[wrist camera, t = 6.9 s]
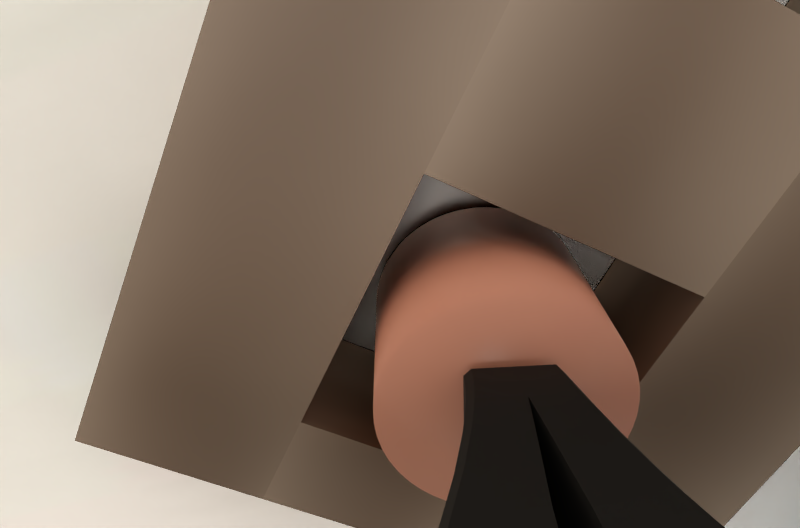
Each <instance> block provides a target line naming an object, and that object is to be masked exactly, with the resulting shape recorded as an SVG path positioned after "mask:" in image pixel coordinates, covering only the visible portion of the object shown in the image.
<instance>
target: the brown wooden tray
mask: <svg viewBox="0 0 800 528" xmlns="http://www.w3.org/2000/svg"><path fill="white" fill-rule="evenodd" d="M424 174H426V175H428V176H430V177H433V178H435V179H437V180H439V181H442V182H444V183H446V184H449V185H451V186H453V187H455V188H458V189H460V190H462V191H464V192H467V193H469V194H471V195H474V196H476V197H478V198H480V199H483V200H485V201H487V202H489V203H492V204H494V205H496V206H499V207H501V208H503V209H505V210H508V211H510V212H512V213H514V214H517V215H519V216H521V217H524V218H526V219H528V220H530V221H533V222H535V223H537V224H539V225H542V226H544V227H546V228H549V229H551V230H553V231H555V232H558V233H560V234H562V235H564V236H567V237H569V238H571V239H574V240H576V241H578V242H580V243H583V244H585V245H587V246H589V247H592V248H594V249H596V250H599V251H601V252H603V253H605V254H608V255H610V256H612V257H614V258H616V259H615V261H614V262H613V264H612V265H611V267H610V268H609V270H608V271H607V273H606V274H605V276H604V277H603V279H602V280H601V282H600V283H599V285H598V286H597V288H596V289H595V291H594V293H595V295H596V297H597V298H598V300H599V302H600V303H601V305H602V307H603V308H604V310H605V312H606V313H607V315H608V317H609V318H610V320H611V322H612V323H613V325H614V327H615V328H616V330H617V332H618V333H619V335H620V337H621V338H622V340H623V342H624V343H625V345H626V347H627V348H628V350H629V352H630V354H631V356H632V358H633V360H634V363H635V366H636V369H637V372H638V377H639V383H640V402H639V408H638V414H637V417H636V420H635V423H634V426H633V428H632V430H631V432H630V434H629V436H628V438H627V439H628V440H629V441H630V442H631V443H633V444H634V445H635V446H636V447H637V448H638V449H639V450H640V451H641V452H642V453H643V454H644V455H645V456H646V457H647V458H648V459H649V460H650V461H651V462H652V463H653V464H654V465H655V466H656V467H657V468H658V469H659V470H660V471H662V472H663V473H664V474H665V475H666V476H667V477H668V478H669V479H670V480H671V481H672V482H673V483H675V484H676V485H677V486H678V487H679V488H680V489H681V490H682V491H683V492H684V493H685V494H687V495H688V496H689V497H690V498H691V499H692V500H694V501H695V502H696V503H697V504H698V505H699V506H700V507H702V508H703V509H704V510H705V511H706V512H707V513H708V514H710V515H711V516H712V517H713V518H714V519H715V520H716V521H718V522H719V523H720V524H721V525H722V526H724V525H725V524H726V523H727V522H728V521H729V520H730V519H731V518H732V517H733V516H734V515H735V514H736V513H737V512H738V511H739V510H740V509H741V507H742V506H743V505H744V504H745V503H746V502H747V501H748V500H749V499H750V498H751V497H752V496H753V495H754V494H755V493H756V492H757V490H758V489H759V488H760V487H761V486H762V485H763V484H764V483H765V482H766V481H767V480H768V479H769V478H770V477H771V476H772V475H773V474H774V472H775V471H776V470H777V469H778V468H779V467H780V466H781V465H782V464H783V463H784V462H785V461H786V460H787V459H788V458H789V457H790V455H791V454H792V453H793V452H794V451H795V450H796V449H797V448H798V447H799V446H800V0H790V1H789V2H788V4H787V5H786V6H784V5H782V4H780V3H779V2H777V1H775V0H210V2H209V5H208V9H207V12H206V15H205V18H204V22H203V25H202V28H201V31H200V35H199V38H198V41H197V44H196V48H195V51H194V54H193V57H192V61H191V64H190V67H189V70H188V74H187V77H186V80H185V83H184V87H183V90H182V93H181V96H180V100H179V103H178V106H177V110H176V113H175V116H174V119H173V123H172V126H171V129H170V132H169V136H168V139H167V142H166V145H165V149H164V152H163V155H162V158H161V162H160V165H159V168H158V171H157V175H156V178H155V181H154V184H153V188H152V191H151V194H150V197H149V201H148V204H147V207H146V210H145V214H144V217H143V220H142V224H141V227H140V230H139V233H138V237H137V240H136V243H135V246H134V250H133V253H132V256H131V259H130V263H129V266H128V269H127V272H126V276H125V279H124V282H123V285H122V289H121V292H120V295H119V298H118V302H117V305H116V308H115V311H114V315H113V318H112V321H111V324H110V328H109V331H108V334H107V337H106V341H105V344H104V347H103V351H102V354H101V357H100V360H99V364H98V367H97V370H96V373H95V377H94V380H93V383H92V386H91V390H90V393H89V396H88V399H87V403H86V406H85V409H84V412H83V416H82V419H81V422H80V425H79V429H78V432H77V435H76V438H75V441H78V442H81V443H84V444H87V445H91V446H94V447H97V448H100V449H104V450H107V451H110V452H113V453H116V454H120V455H123V456H126V457H129V458H133V459H136V460H139V461H142V462H145V463H149V464H152V465H155V466H158V467H162V468H165V469H168V470H171V471H175V472H178V473H181V474H184V475H187V476H191V477H194V478H197V479H200V480H204V481H207V482H210V483H213V484H216V485H220V486H223V487H226V488H229V489H233V490H236V491H239V492H242V493H245V494H249V495H252V496H255V497H258V498H262V499H265V500H268V501H271V502H274V503H278V504H281V505H284V506H287V507H291V508H294V509H297V510H300V511H304V512H307V513H310V514H313V515H316V516H320V517H323V518H326V519H329V520H333V521H336V522H339V523H342V524H345V525H349V526H352V527H355V528H439V524H440V521H441V517H442V514H443V511H444V507H445V504H446V501H445V500H443V499H440V498H438V497H435V496H433V495H431V494H429V493H427V492H425V491H423V490H421V489H419V488H418V487H417V486H415V485H414V484H412V483H411V482H409V481H408V480H407V479H406V478H405V477H404V476H403V475H401V474H400V473H399V472H398V471H397V470H396V468H395V467H394V466H393V465H392V464H391V462H390V461H389V460H388V458H387V457H386V455H385V453H384V452H383V450H382V448H381V445H380V443H379V441H378V438H377V435H376V431H375V426H374V419H373V392H374V359H375V352H373V351H371V350H368V349H365V348H362V347H360V346H357V345H354V344H352V343H349V342H346V341H344V340H342V338H343V336H344V334H345V332H346V330H347V328H348V326H349V324H350V322H351V320H352V318H353V316H354V314H355V312H356V310H357V308H358V306H359V304H360V302H361V300H362V298H363V296H364V294H365V292H366V290H367V288H368V286H369V284H370V282H371V280H372V278H373V276H374V274H375V272H376V270H377V268H378V265H379V263H380V261H381V259H382V257H383V255H384V253H385V251H386V249H387V247H388V245H389V243H390V241H391V239H392V237H393V235H394V233H395V231H396V229H397V227H398V225H399V223H400V221H401V219H402V217H403V215H404V213H405V211H406V209H407V207H408V205H409V203H410V201H411V199H412V197H413V195H414V193H415V191H416V189H417V187H418V185H419V183H420V181H421V179H422V177H423V175H424Z"/></svg>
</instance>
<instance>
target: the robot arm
mask: <svg viewBox="0 0 800 528" xmlns="http://www.w3.org/2000/svg"><path fill="white" fill-rule="evenodd" d="M463 395H464V425H463V433H462V438H461V443H460V448H459V453H458V457H457V462H456V467H455V472H454V476H453V480H452V483H451V487H450V490H449V494H448V497H447V500H446V504H445V507H444V511H443V514H442V517H441V521H440V524H439V528H725V527H724V526H722V525H721V524H720V523H719V522H718V521H716V520H715V519H714V518H713V517H712V516H711V515H710V514H708V513H707V512H706V511H705V510H704V509H703V508H702V507H700V506H699V505H698V504H697V503H696V502H695V501H694V500H692V499H691V498H690V497H689V496H688V495H687V494H685V493H684V492H683V491H682V490H681V489H680V488H679V487H678V486H677V485H676V484H675V483H673V482H672V481H671V480H670V479H669V478H668V477H667V476H666V475H665V474H664V473H663V472H662V471H660V470H659V469H658V468H657V467H656V466H655V465H654V464H653V463H652V462H651V461H650V460H649V459H648V458H647V457H646V456H645V455H644V454H643V453H642V452H641V451H640V450H639V449H638V448H637V447H636V446H635V445H634V444H633V443H631V442H630V441H629V440H628V439H627V438H626V437H625V436H624V435H623V434H622V433H621V432H620V431H619V430H618V429H617V428H616V427H615V425H614V424H613V423H612V422H611V421H610V420H609V419H608V418H607V417H606V416H605V415H604V414H603V413H602V412H601V411H600V410H599V409H598V408H597V407H596V406H595V405H594V404H593V402H592V401H591V400H590V399H589V398H588V397H587V396H586V395H585V394H584V393H583V392H582V391H581V390H580V389H579V387H578V386H577V385H576V384H575V383H574V382H573V381H572V380H571V379H570V378H569V377H568V376H567V374H566V373H565V372H564V371H563V370H562V369H561V368H560V367H558V366H557V365H556V364H553V365H534V366H515V367H495V368H476V369H470V370H469V371H468V372H467V373H466V374H465V375H464V376H463Z"/></svg>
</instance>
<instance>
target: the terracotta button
mask: <svg viewBox="0 0 800 528" xmlns="http://www.w3.org/2000/svg"><path fill="white" fill-rule="evenodd" d="M553 364H556V365H557V366H558V367H560V368H561V369H562V370H563V371H564V372H565V373H566V374H567V376H568V377H569V378H570V379H571V380H572V381H573V382H574V383H575V384H576V385H577V386H578V387H579V389H580V390H581V391H582V392H583V393H584V394H585V395H586V396H587V397H588V398H589V399H590V400H591V401H592V402H593V404H594V405H595V406H596V407H597V408H598V409H599V410H600V411H601V412H602V413H603V414H604V415H605V416H606V417H607V418H608V419H609V420H610V421H611V422H612V423H613V424H614V425H615V427H616V428H617V429H618V430H619V431H620V432H621V433H622V434H623V435H624V436H625V437H626V438H628V436H629V434H630V432H631V430H632V428H633V426H634V423H635V420H636V417H637V414H638V408H639V402H640V383H639V377H638V372H637V369H636V366H635V363H634V360H633V358H632V356H631V354H630V352H629V350H628V348H627V347H626V345H625V343H624V342H623V340H622V338H621V337H620V335H619V333H618V332H617V330H616V328H615V327H614V325H613V323H612V322H611V320H610V318H609V317H608V315H607V313H606V312H605V310H604V308H603V307H602V305H601V303H600V302H599V300H598V298H597V297H596V295H595V293H594V292H593V290H592V288H591V287H590V285H589V283H588V282H587V280H586V278H585V277H584V275H583V273H582V272H581V270H580V268H579V267H578V265H577V263H576V262H575V260H574V258H573V257H572V255H571V253H570V252H569V250H568V248H567V247H566V246H565V244H564V243H563V242H562V241H561V239H560V238H559V237H558V236H557V235H556V234H555V233H554V232H553V231H552V230H550V229H549V228H546V227H544V226H542V225H539V224H537V223H535V222H533V221H530V220H528V219H526V218H524V217H521V216H519V215H517V214H514V213H512V212H510V211H508V210H505V209H500V208H490V207H485V208H470V209H463V210H458V211H455V212H451V213H447V214H445V215H442V216H440V217H437V218H435V219H433V220H431V221H429V222H427V223H426V224H424V225H422V226H420V227H419V228H418V229H416V230H415V231H414V232H412V233H411V234H410V235H409V236H408V237H407V238H406V239H404V240H403V241H402V242H401V243H400V244H399V246H398V247H397V248H396V249H395V251H394V252H393V253H392V255H391V256H390V258H389V260H388V261H387V263H386V265H385V267H384V269H383V272H382V274H381V277H380V281H379V285H378V289H377V299H376V327H375V359H374V392H373V419H374V426H375V431H376V435H377V438H378V441H379V443H380V445H381V448H382V450H383V452H384V453H385V455H386V457H387V458H388V460H389V461H390V462H391V464H392V465H393V466H394V467H395V468H396V470H397V471H398V472H399V473H400V474H401V475H403V476H404V477H405V478H406V479H407V480H408V481H409V482H411V483H412V484H414V485H415V486H417V487H418V488H419V489H421V490H423V491H425V492H427V493H429V494H431V495H433V496H435V497H438V498H440V499H443V500H445V501H446V500H447V497H448V494H449V490H450V487H451V483H452V480H453V476H454V472H455V467H456V462H457V457H458V453H459V448H460V443H461V438H462V433H463V425H464V395H463V376H464V375H465V374H466V373H467V372H468V371H469V370H470V369H476V368H495V367H515V366H534V365H553Z"/></svg>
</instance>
